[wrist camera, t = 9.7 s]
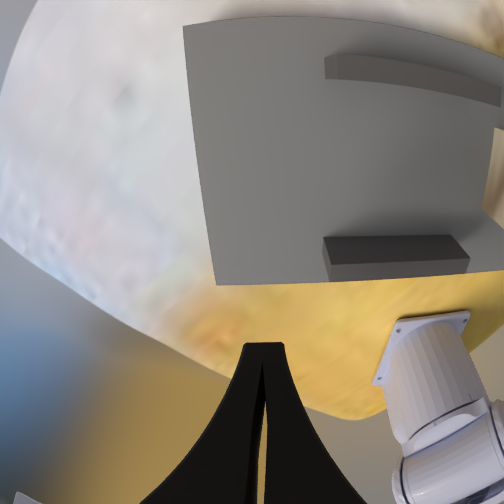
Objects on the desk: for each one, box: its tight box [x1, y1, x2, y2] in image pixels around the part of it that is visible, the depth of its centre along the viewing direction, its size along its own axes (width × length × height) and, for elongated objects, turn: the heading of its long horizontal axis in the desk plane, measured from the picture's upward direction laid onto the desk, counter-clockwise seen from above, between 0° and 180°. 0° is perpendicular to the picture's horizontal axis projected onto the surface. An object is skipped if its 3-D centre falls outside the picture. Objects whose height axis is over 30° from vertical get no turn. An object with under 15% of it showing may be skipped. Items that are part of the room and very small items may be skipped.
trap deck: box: [183, 16, 504, 285], centre depth 13 cm, size 14×30×5 cm, turn 94°
